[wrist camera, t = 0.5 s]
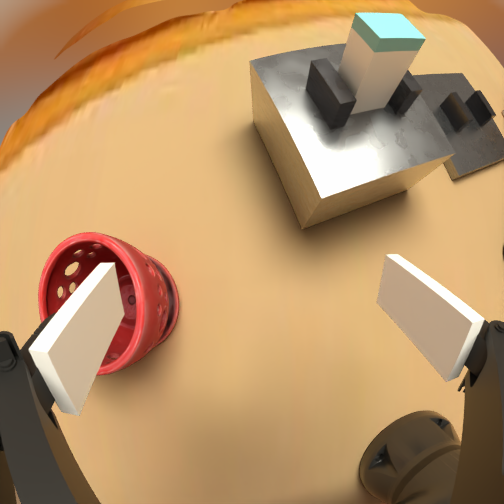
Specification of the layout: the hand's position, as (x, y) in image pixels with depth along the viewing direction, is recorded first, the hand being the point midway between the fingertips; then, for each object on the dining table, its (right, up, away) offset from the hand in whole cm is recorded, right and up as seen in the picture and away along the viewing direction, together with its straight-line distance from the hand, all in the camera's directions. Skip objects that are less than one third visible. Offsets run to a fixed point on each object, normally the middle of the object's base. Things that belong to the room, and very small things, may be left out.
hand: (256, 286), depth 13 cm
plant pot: (-15, -5, +21) cm, 26 cm away
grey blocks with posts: (+22, +19, +22) cm, 37 cm away
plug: (+10, +16, +10) cm, 21 cm away
